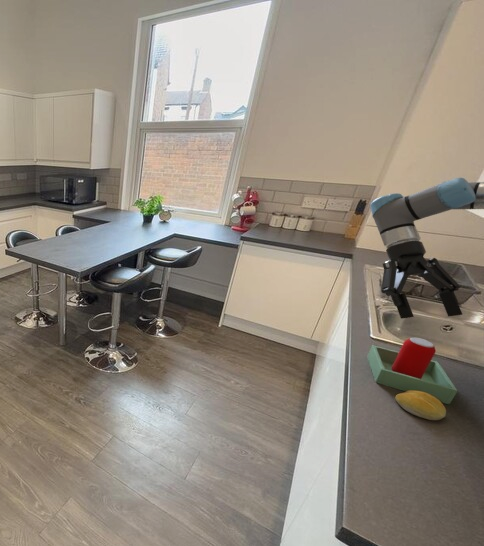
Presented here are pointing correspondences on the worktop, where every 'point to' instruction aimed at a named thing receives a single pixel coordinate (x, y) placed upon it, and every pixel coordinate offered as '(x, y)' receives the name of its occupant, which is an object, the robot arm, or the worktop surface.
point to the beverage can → (414, 357)
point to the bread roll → (421, 404)
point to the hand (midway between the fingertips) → (431, 316)
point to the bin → (430, 382)
